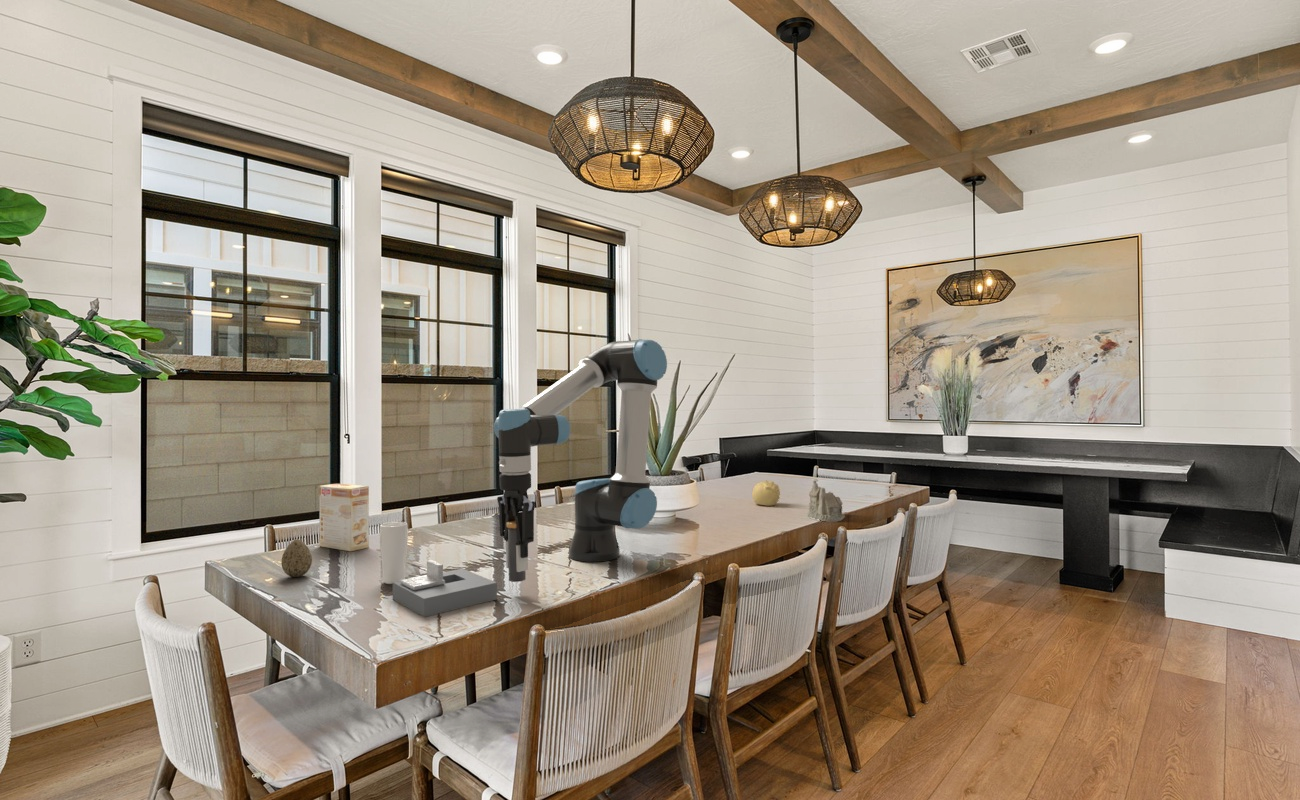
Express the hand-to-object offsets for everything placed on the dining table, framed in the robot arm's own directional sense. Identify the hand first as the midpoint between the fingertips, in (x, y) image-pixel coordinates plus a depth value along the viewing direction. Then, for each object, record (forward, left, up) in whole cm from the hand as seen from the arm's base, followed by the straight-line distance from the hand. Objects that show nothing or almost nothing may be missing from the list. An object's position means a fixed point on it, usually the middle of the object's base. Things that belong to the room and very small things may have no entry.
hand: (517, 568), depth 160 cm
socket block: (+15, -8, -6) cm, 18 cm away
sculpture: (-149, -37, -7) cm, 154 cm away
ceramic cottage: (-144, -2, -7) cm, 144 cm away
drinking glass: (+18, -31, -7) cm, 36 cm away
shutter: (+19, -10, -2) cm, 22 cm away
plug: (0, 0, -3) cm, 3 cm away
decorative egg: (+35, -53, -7) cm, 64 cm away
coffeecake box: (+14, -80, -7) cm, 81 cm away
